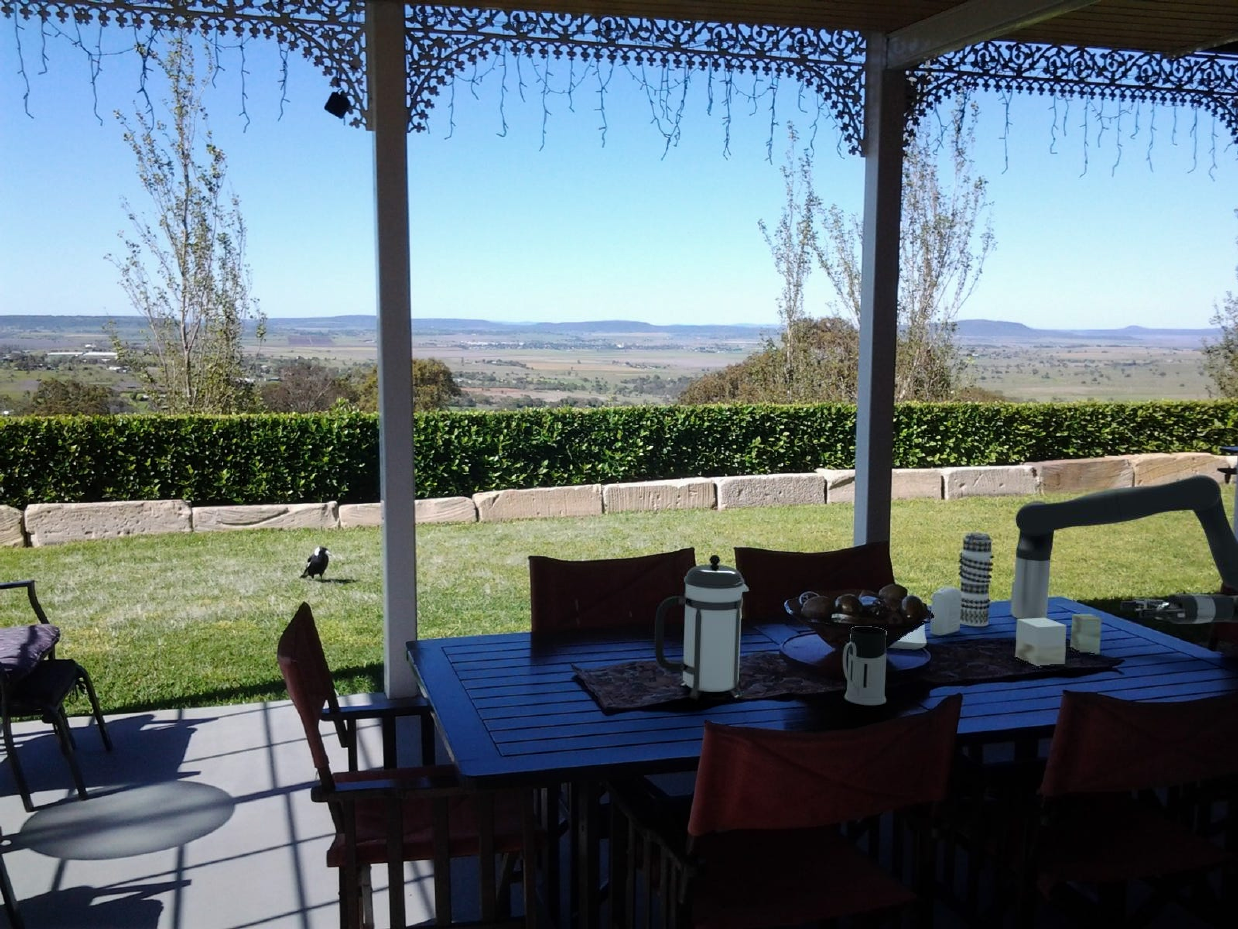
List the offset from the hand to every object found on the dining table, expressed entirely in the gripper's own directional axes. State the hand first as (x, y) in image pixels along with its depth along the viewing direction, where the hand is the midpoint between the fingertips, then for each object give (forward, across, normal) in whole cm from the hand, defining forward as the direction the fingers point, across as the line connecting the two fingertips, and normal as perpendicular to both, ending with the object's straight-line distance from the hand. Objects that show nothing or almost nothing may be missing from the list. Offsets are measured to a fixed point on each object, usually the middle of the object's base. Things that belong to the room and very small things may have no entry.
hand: (1130, 609), depth 278 cm
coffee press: (+115, +29, +10) cm, 119 cm away
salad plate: (+60, -12, +10) cm, 62 cm away
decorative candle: (+28, -30, +10) cm, 42 cm away
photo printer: (+40, -20, +10) cm, 46 cm away
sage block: (+12, 0, +11) cm, 16 cm away
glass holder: (+83, +37, +10) cm, 91 cm away
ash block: (+28, +9, +11) cm, 31 cm away
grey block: (+28, +9, +6) cm, 30 cm away
